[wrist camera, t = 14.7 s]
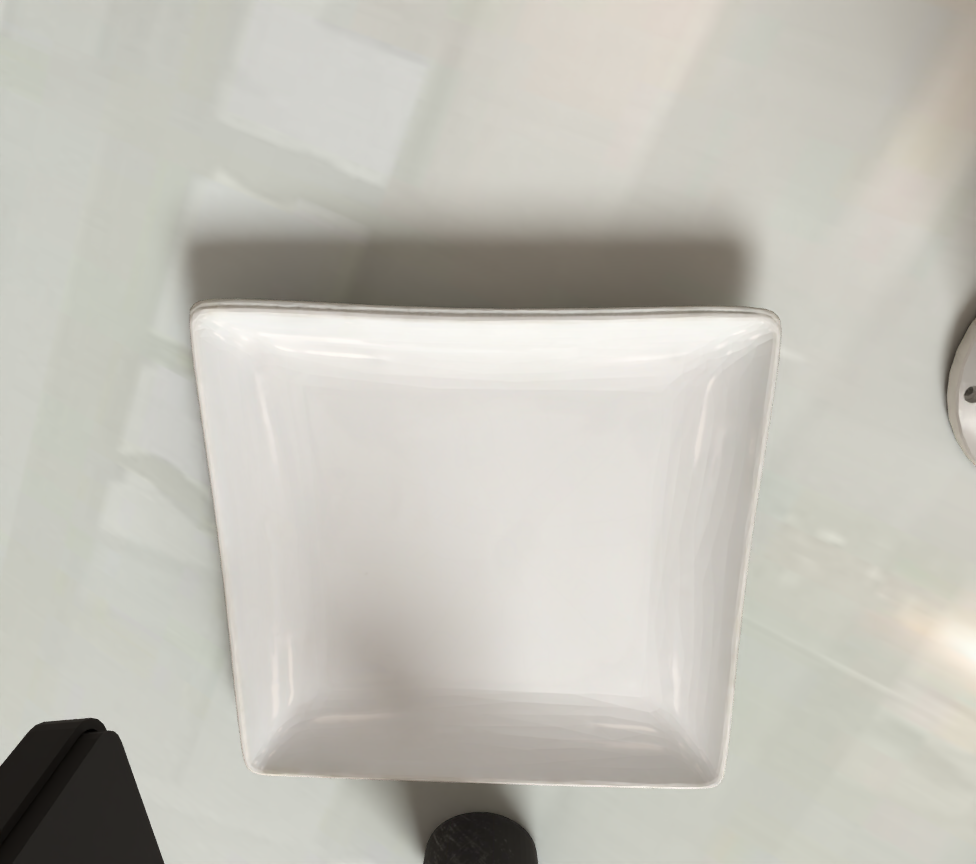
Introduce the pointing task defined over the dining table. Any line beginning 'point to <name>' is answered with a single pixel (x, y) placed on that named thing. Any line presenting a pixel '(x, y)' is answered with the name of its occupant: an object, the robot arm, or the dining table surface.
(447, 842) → the travel mug
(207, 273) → the dining table surface
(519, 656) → the square plate
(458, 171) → the dining table surface
